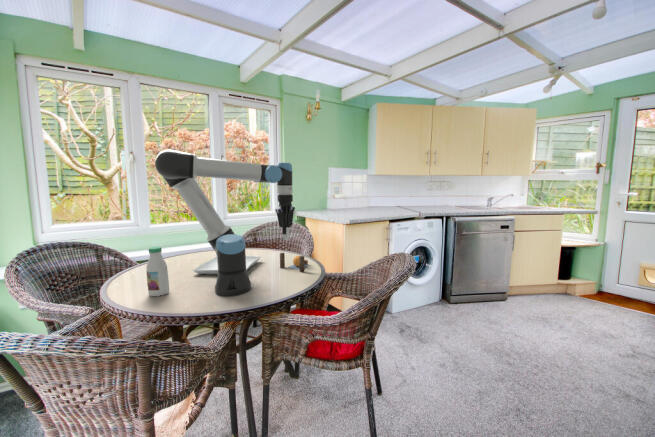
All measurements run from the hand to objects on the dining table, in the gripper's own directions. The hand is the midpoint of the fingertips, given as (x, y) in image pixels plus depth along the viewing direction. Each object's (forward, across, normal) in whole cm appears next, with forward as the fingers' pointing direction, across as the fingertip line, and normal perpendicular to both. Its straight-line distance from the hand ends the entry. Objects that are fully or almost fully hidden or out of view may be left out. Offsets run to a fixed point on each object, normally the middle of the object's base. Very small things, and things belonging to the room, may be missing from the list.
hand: (286, 240), depth 150 cm
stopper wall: (+17, +14, 0) cm, 22 cm away
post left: (+17, +4, +6) cm, 18 cm away
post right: (+17, +4, -7) cm, 18 cm away
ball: (+14, +10, 0) cm, 17 cm away
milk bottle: (+17, -50, +28) cm, 60 cm away
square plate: (+18, -11, +30) cm, 37 cm away
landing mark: (+17, +9, 0) cm, 19 cm away
